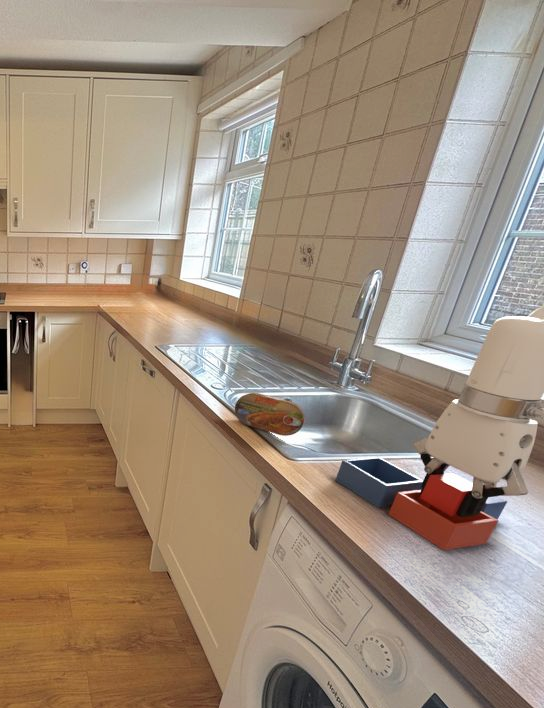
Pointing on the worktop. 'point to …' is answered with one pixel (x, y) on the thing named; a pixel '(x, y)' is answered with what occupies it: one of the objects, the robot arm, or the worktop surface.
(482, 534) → the red bin
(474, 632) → the worktop surface
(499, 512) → the blue block
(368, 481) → the blue bin
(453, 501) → the red block
